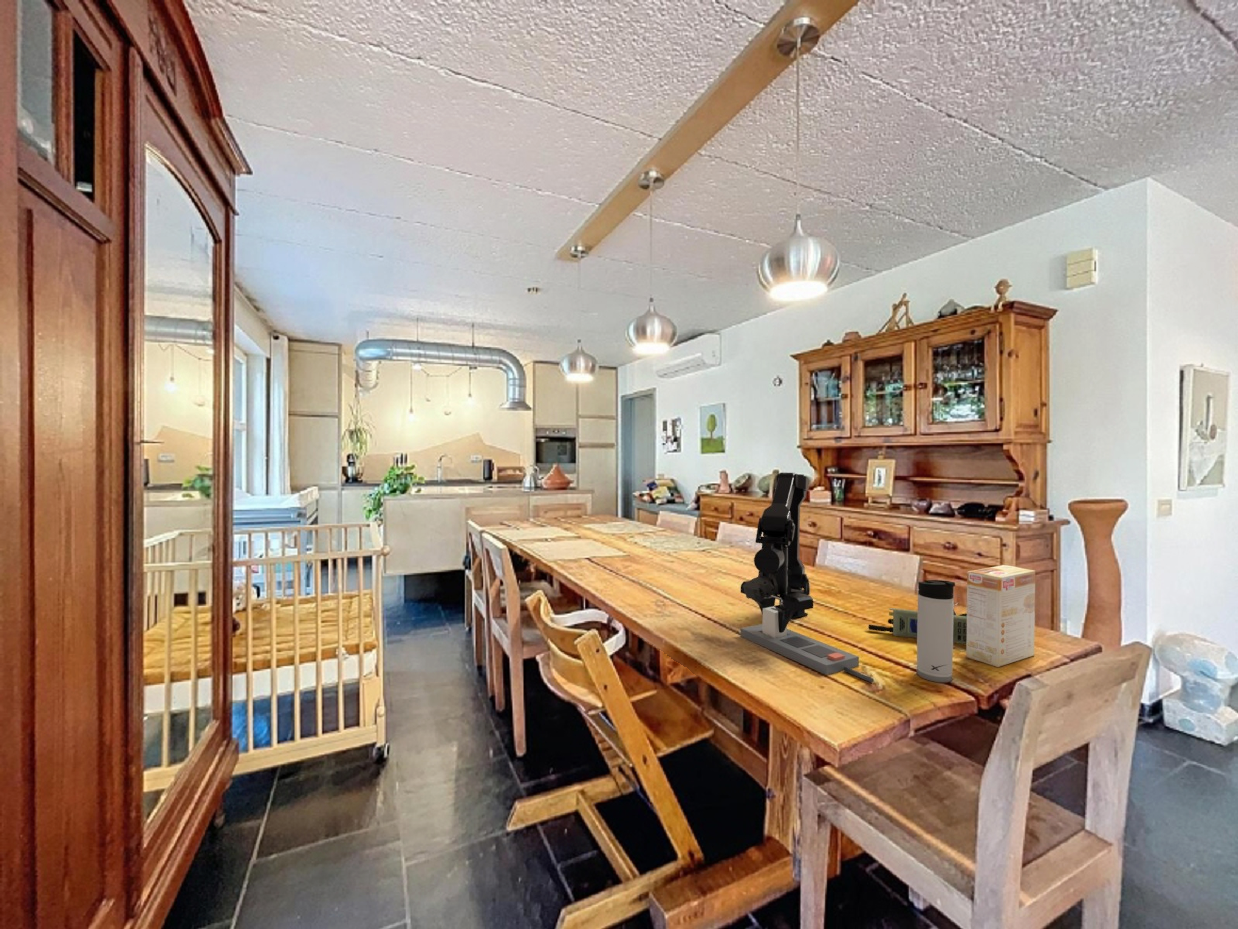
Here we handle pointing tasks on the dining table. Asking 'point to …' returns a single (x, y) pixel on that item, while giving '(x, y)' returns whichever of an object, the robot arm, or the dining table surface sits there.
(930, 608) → the travel mug
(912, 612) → the handheld radio
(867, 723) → the dining table surface
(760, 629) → the power strip
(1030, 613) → the coffeecake box
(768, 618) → the block
